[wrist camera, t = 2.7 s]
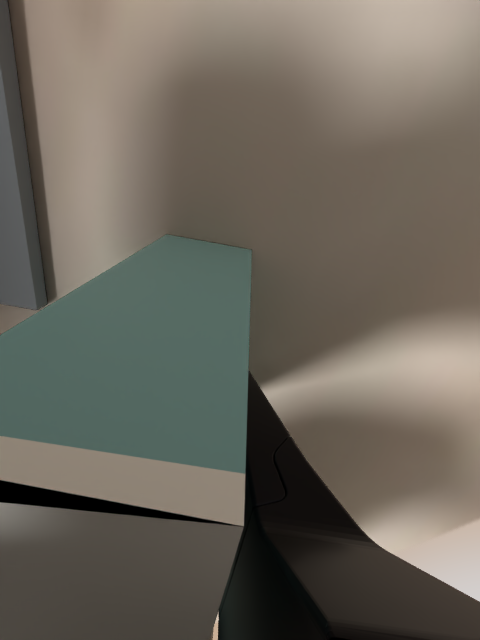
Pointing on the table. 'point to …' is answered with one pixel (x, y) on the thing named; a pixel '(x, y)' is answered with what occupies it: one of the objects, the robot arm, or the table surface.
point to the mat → (16, 190)
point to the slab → (126, 449)
